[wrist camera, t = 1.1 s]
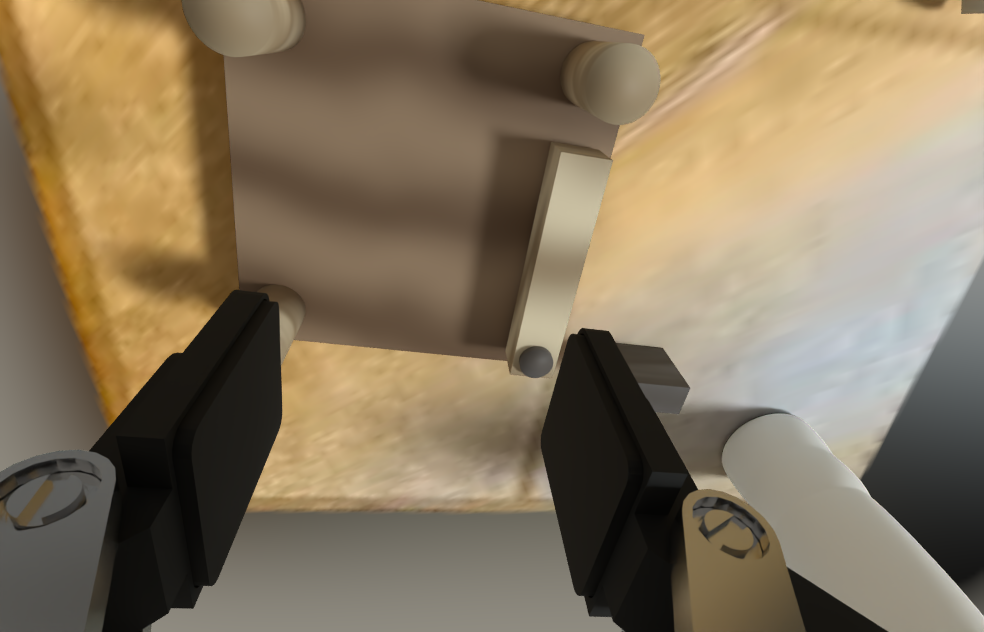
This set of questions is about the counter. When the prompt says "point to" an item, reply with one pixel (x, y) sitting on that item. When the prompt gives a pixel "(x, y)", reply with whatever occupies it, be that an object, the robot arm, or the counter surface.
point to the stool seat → (411, 161)
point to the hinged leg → (555, 256)
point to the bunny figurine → (972, 6)
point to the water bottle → (841, 530)
